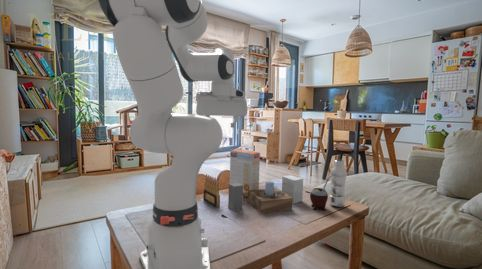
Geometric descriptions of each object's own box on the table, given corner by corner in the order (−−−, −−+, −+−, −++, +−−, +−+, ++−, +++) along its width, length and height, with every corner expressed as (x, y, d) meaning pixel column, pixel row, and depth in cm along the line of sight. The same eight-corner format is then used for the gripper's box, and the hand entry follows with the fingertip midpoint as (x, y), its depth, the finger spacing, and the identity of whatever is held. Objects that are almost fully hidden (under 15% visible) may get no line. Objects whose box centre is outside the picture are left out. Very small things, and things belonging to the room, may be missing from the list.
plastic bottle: (345, 209, 110) (348, 162, 108) (328, 207, 112) (330, 161, 110) (344, 204, 116) (347, 159, 114) (328, 202, 118) (331, 158, 116)
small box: (302, 201, 118) (303, 178, 117) (293, 203, 115) (294, 180, 114) (289, 196, 125) (290, 174, 124) (281, 198, 121) (282, 176, 120)
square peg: (242, 209, 107) (242, 185, 106) (233, 210, 105) (233, 186, 104) (237, 205, 111) (237, 182, 110) (228, 207, 109) (228, 183, 108)
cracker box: (259, 196, 124) (260, 152, 122) (251, 199, 120) (252, 153, 118) (237, 189, 133) (238, 148, 131) (228, 191, 129) (229, 149, 127)
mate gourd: (306, 207, 111) (308, 172, 109) (316, 203, 116) (318, 170, 115) (321, 213, 105) (324, 176, 104) (332, 208, 110) (334, 173, 109)
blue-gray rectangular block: (274, 206, 111) (275, 183, 110) (267, 207, 110) (267, 183, 109) (270, 203, 115) (271, 180, 114) (263, 204, 113) (264, 181, 112)
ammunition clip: (219, 207, 109) (220, 178, 108) (216, 208, 108) (216, 179, 107) (206, 199, 117) (207, 173, 116) (203, 200, 116) (203, 173, 115)
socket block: (292, 209, 108) (292, 197, 108) (261, 213, 103) (261, 201, 103) (275, 198, 121) (276, 187, 121) (247, 201, 116) (248, 190, 116)
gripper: (197, 90, 97) (197, 127, 98) (249, 93, 104) (248, 128, 105) (194, 91, 102) (194, 126, 104) (243, 94, 110) (242, 127, 111)
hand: (221, 127), depth 104 cm, fingers open, 8 cm apart
